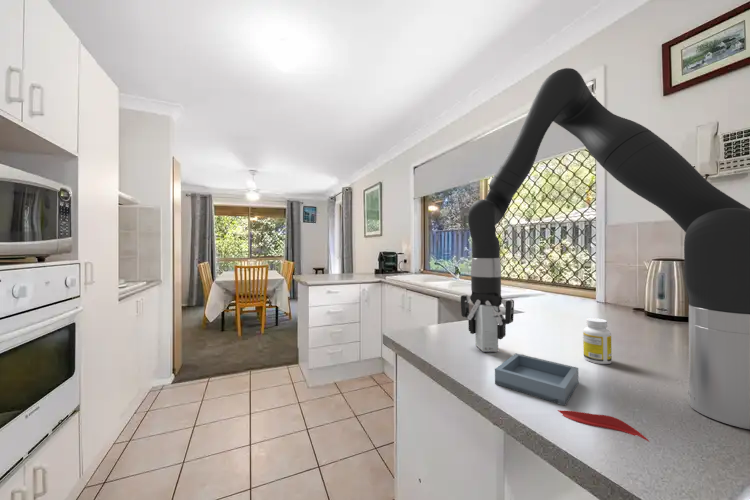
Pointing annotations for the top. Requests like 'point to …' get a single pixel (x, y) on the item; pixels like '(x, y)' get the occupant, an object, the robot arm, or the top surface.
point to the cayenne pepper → (601, 422)
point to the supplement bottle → (597, 341)
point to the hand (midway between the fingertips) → (486, 335)
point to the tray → (538, 378)
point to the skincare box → (486, 329)
